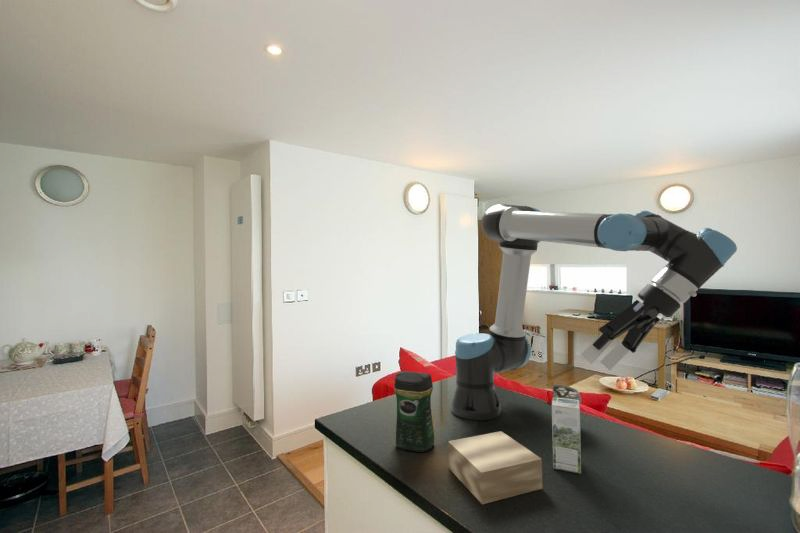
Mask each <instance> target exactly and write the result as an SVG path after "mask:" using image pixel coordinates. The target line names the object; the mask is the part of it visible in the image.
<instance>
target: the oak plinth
mask: <svg viewBox="0 0 800 533" xmlns="http://www.w3.org/2000/svg"><path fill="white" fill-rule="evenodd" d="M447 447H448V448H447V450H448V451H447V454H448V455H447V456H448V469H449V470H450V471H451V473H453V474H454V475H455V477H457V479H458V480H459V481H460V482H461V483H462V484H463V485H464V487H465V488H466V489H467V490H468V491H469V492H470V493H471V494H472V495H473V497H475V498H476V499H477V501H478V502H479V503H480V504H481V505H485V504H489V503H493V502H497V501H500V500H503V499H508V498H512V497H516V496H519V495H520V496H521V495H523V494H527V493H531V492H534V491H539V490H542V489H543V459H542V458H541V456H539V455H537V454H535V453H534V452H532V451H531V450H530V449H528V448H527V447H526V446H524V445H522V444H521V443H519V442H518V441H517V440H515V439H513V438H512V437H511V436H509V435H508V434H506V433H504V432H503V431H502V430H501V431H495V432H489V433H484V434H478V435H473V436H469V437H464V438H463V437H462V438H458V439H453V440H448V442H447Z"/></svg>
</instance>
